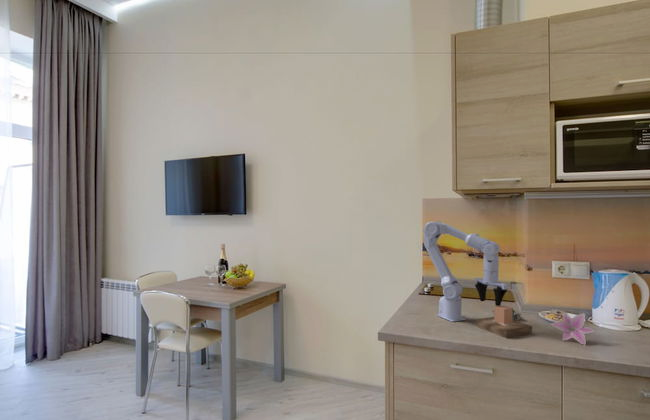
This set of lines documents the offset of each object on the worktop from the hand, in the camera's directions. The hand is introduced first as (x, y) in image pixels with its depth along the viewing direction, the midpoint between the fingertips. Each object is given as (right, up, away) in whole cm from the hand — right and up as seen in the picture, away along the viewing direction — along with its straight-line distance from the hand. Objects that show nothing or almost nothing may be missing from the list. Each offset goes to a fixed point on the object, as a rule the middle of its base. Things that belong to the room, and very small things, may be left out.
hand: (490, 303), depth 148 cm
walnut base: (+3, -10, -5) cm, 11 cm away
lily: (+24, -10, -15) cm, 30 cm away
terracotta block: (+3, -6, -5) cm, 9 cm away
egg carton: (+13, -10, +11) cm, 20 cm away
